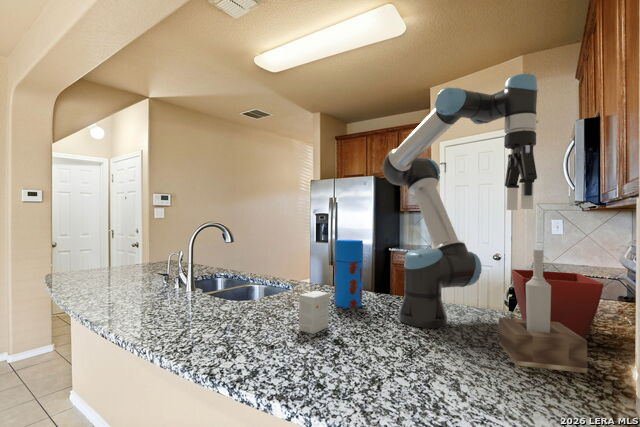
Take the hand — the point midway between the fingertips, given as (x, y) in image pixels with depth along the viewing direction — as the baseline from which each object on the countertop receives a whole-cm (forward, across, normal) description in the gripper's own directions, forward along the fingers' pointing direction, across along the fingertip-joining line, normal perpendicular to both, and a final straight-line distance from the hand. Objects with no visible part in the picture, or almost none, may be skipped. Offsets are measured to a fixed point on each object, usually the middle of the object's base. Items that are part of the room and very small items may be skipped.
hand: (518, 209), depth 91 cm
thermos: (+38, +24, +52) cm, 68 cm away
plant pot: (+37, +14, -13) cm, 41 cm away
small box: (+37, -8, +56) cm, 68 cm away
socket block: (+36, -10, -2) cm, 38 cm away
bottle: (+35, -10, -2) cm, 37 cm away
